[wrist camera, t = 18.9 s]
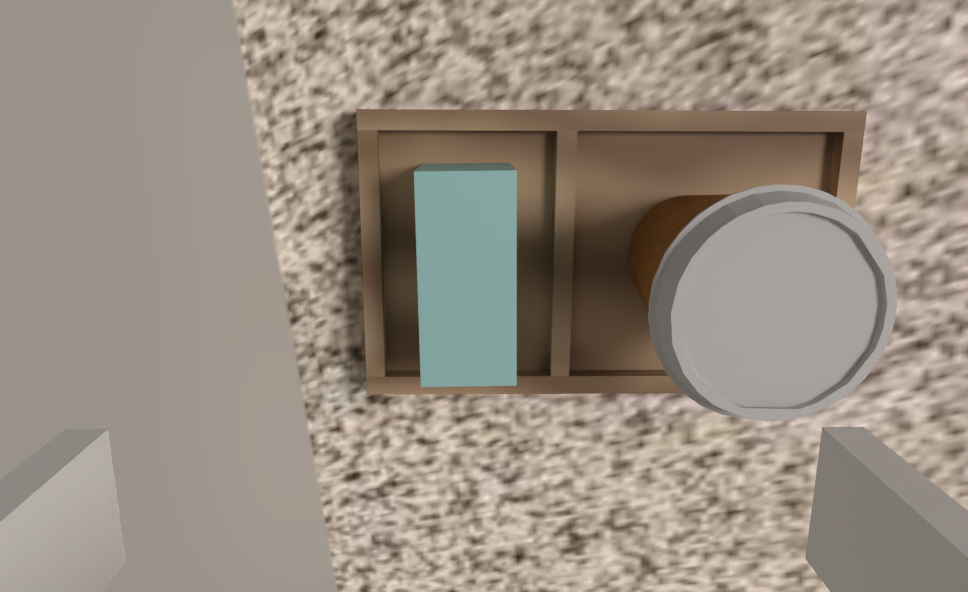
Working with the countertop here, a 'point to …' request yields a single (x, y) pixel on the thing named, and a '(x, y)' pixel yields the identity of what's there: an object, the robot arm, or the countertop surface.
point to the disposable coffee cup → (763, 298)
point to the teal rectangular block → (467, 273)
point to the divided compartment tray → (572, 222)
